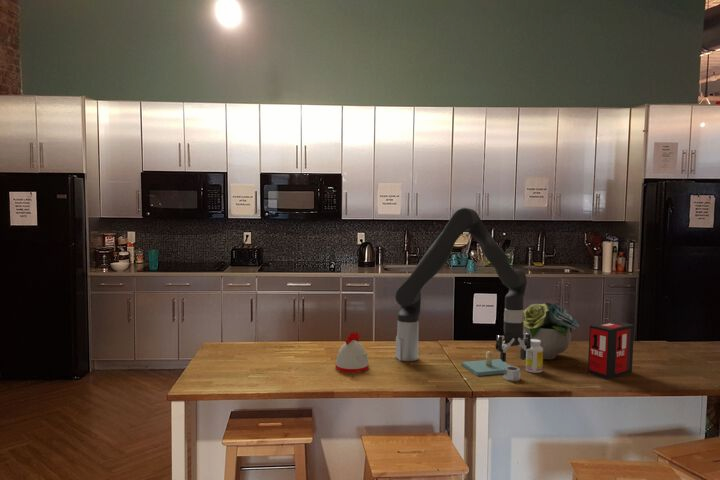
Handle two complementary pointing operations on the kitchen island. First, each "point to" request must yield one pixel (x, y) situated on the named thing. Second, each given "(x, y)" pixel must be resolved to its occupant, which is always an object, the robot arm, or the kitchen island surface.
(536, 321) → the flower arrangement
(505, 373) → the steel hub
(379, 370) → the kitchen island surface
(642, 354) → the kitchen island surface
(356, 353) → the grey beanie hat
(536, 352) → the supplement bottle
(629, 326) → the cleaning product box
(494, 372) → the post stand
